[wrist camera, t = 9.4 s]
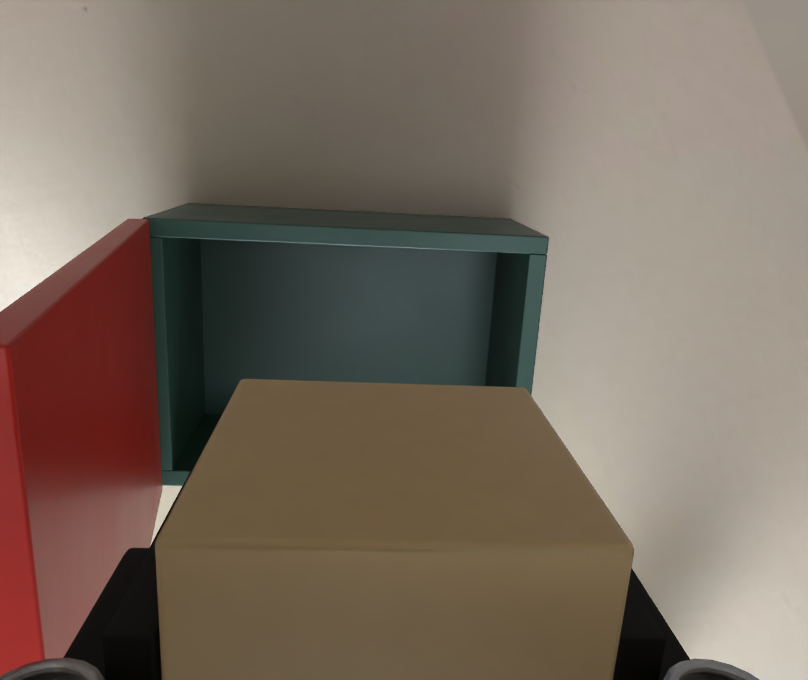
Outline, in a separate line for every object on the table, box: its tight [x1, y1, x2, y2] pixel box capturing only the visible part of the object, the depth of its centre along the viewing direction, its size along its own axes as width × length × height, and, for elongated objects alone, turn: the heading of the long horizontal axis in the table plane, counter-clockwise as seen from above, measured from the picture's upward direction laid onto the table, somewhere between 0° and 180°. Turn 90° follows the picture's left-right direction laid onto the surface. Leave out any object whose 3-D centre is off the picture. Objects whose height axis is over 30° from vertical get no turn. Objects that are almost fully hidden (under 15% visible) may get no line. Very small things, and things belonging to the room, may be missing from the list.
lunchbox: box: [143, 203, 549, 486], centre depth 35 cm, size 18×13×8 cm
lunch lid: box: [0, 219, 162, 676], centre depth 21 cm, size 18×13×1 cm
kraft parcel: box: [155, 379, 634, 680], centre depth 9 cm, size 4×6×4 cm
